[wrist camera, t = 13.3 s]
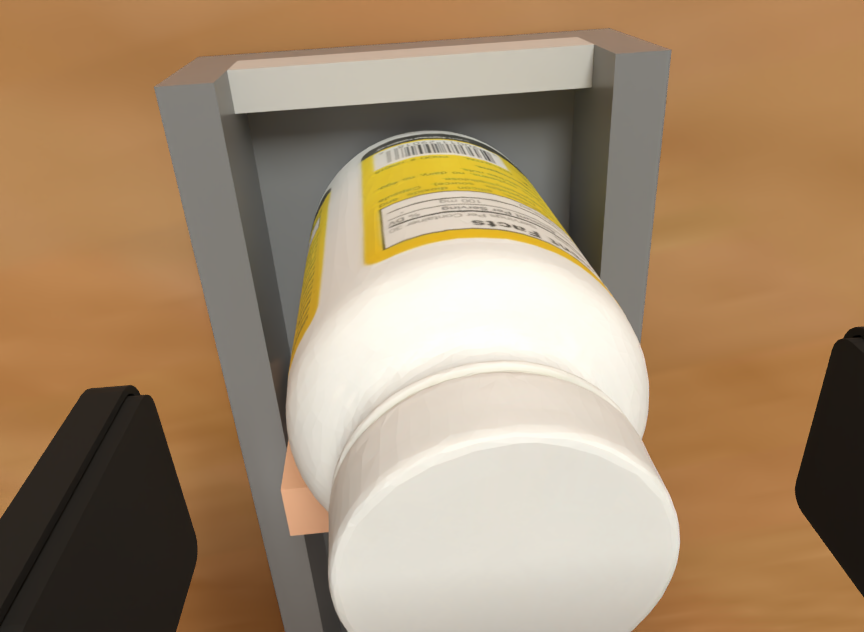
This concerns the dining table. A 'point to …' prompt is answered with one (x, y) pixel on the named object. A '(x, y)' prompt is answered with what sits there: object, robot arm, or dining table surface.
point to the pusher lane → (353, 133)
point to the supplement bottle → (471, 405)
